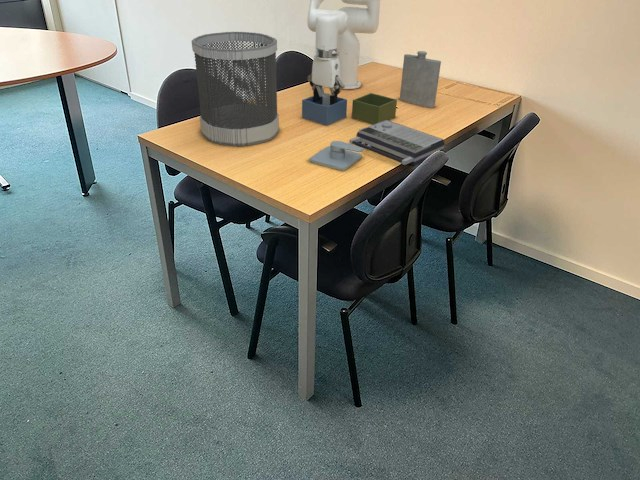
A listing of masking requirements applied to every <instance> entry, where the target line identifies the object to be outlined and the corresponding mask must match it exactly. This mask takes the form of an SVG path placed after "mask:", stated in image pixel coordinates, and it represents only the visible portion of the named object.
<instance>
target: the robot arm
mask: <svg viewBox="0 0 640 480" xmlns="http://www.w3.org/2000/svg"><path fill="white" fill-rule="evenodd" d="M324 1H325V0H309V5H308V12H307V21H306V22H307V27H308V29H309V30H310V32H314V33H315V52H314V53H315V55H314V56H313V61H312V66H311V73H310V74H309V75H308V76H307V77H306V78H307V81H308V82H309V86H310V87H311V91H312V92H313V93H312V94H313V95H312V96H313V101H314V102H316V101H318V100H320V97H319V94H318V91H317V88H316V86H318V85H320V86H322V87H324V88H327V89H329V91H330V94H331V96H330V105H332V104H335V103H337V97H338V95H339V94H340V93H341V92H342V90H356V89H359V88H361V86H362V82H361V81H359V64H360V52H361V51H360V49H361V43H360V39H359V38H358V36H357V35H356V34H368V35H369V34H375V33H376V32H377V31H378V29H379V24H380V12H381V11H380V8H381V0H341V2H342V3H343V4H347V5H357V6H344V7H341V8H339V9H337V10H336V9H326V8H325V9H323V8H320V6H321V4H322V3H323V2H324ZM358 6H366V7H358Z"/></svg>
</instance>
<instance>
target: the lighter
mask: <svg viewBox="0 0 640 480" xmlns="http://www.w3.org/2000/svg"><path fill="white" fill-rule="evenodd" d="M323 87H324V86H320V85H318V86H316V88H317V91H318V94H319V97H322V105H324V106H330V96H331V95H332V94H331V93H325V91H324V88H323Z"/></svg>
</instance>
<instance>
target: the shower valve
mask: <svg viewBox="0 0 640 480" xmlns="http://www.w3.org/2000/svg"><path fill="white" fill-rule="evenodd" d="M329 144H330V145H328V146H326V147H324V148H323V149H321V150H320V151H318V152H317V153H315V154H313V155H312V156H310V157H309V162H310V163H313V164H315V165H320V166H323V167H327V168H330V169H334V170H338V171H346V170H347V169H349V168H350V167H351V166H353V165H354V164H356V163H357V162H358V161H360V160H361V159H362V157H363V155H362V154H361V152H363V151H364V150H365V148H362V147H360V146H357V145H355V144H350V143H349V142H345V141H341V140H334V141H331V142H330V143H329Z"/></svg>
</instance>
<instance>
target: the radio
mask: <svg viewBox="0 0 640 480" xmlns="http://www.w3.org/2000/svg"><path fill="white" fill-rule="evenodd" d="M348 144H352V145H355V146H358V147H362V148H364V150H368V151H370V152H372V153H374V154H378V155H380V156H382V157H385V158H387V159H390V160H393V161H396V162H398V163H400V164H401V165H404V166H406V165H411V166H413V167H416V166H418V165H419V164H422V163H424V162H425V161H424V160H425V159H426V158H427V157H428V156H429V155H431V154H432V153H434V152H436V151H438V150H440V151H443V152H444V150H445V145H446V143H445V141H444V138H441V137H439V136H436V135H432V134H429V133H427V132H424V131H422V130H421V131H420V130H417V129H415V128H411V127H409V126H406V125H404V124H400V123H397V122H394V121H392V120H385V121H382V122H380V123H377V124H371V125H369V126H366V127H363V128H359V129H358V131H357V132H356V135H355V137H353V138H350V139H349V142H348ZM423 161H424V162H423ZM421 162H422V163H421Z"/></svg>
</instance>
